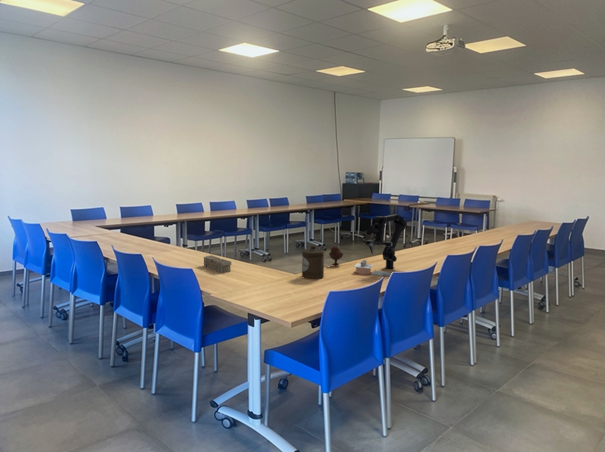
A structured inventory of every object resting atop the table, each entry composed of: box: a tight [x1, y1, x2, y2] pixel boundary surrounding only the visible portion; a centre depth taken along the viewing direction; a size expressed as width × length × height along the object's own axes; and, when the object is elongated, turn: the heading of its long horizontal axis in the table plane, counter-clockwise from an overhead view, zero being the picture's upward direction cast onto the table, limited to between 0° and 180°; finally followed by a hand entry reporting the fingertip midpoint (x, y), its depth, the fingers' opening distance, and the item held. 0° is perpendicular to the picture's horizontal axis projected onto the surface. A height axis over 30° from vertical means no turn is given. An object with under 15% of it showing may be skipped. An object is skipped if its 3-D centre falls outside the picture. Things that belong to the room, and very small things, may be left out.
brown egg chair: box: [328, 245, 344, 267], centre depth 331 cm, size 11×11×15 cm
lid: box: [353, 259, 374, 269], centre depth 307 cm, size 12×12×4 cm
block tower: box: [203, 254, 232, 274], centre depth 313 cm, size 8×8×29 cm
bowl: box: [355, 267, 372, 275], centre depth 308 cm, size 10×10×5 cm
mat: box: [369, 270, 392, 278], centre depth 306 cm, size 14×14×1 cm
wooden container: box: [301, 244, 325, 280], centre depth 293 cm, size 15×15×22 cm
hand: (378, 254), depth 313 cm, fingers open, 9 cm apart
